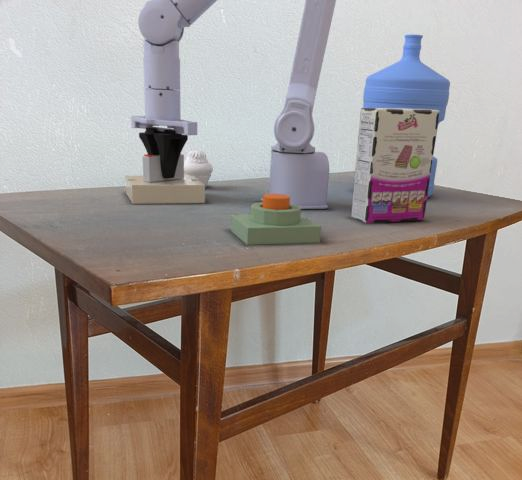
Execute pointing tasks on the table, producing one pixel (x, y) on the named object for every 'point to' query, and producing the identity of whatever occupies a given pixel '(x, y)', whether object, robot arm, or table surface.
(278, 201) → the button
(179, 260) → the table surface
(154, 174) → the gray rectangular brick
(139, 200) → the base
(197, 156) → the muffin
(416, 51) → the water jug
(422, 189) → the candy bar box
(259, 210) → the switch
